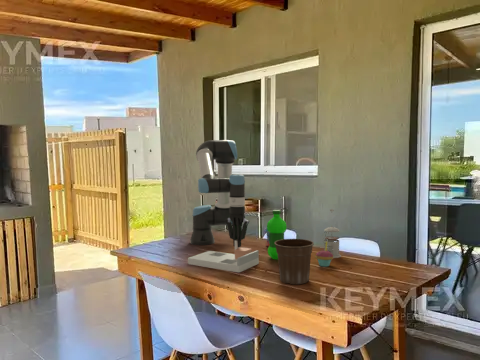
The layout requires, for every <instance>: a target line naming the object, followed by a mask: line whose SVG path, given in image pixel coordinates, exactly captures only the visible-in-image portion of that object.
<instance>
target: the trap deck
mask: <svg viewBox="0 0 480 360" xmlns="http://www.w3.org/2000/svg"><path fill="white" fill-rule="evenodd" d="M259 254H260V251H259V250H254V251H252V252H251V253H249V254H246V255H244V256H241V257H239V258H237V259H235V253H230V252H229V253H227V252H221V251H214V250H207V251H204V252H201V253H198V254H196V255H193V256H190V257H187V265H190V266H191V265H192V266H197V267H198V266H199V267H204V268H210V269H216V270H222V271H228V272H234V273H242V272H244V271H247V270H249V269H250V268H252V267H255V266H256V265H259V263H260V262H259V261H260V260H259V259H260V256H259Z"/></svg>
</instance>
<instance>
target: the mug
mask: <svg viewBox="0 0 480 360" xmlns="http://www.w3.org/2000/svg"><path fill="white" fill-rule="evenodd" d="M264 231H265V232H266V233H265V234H266V243H265V245H266V247H269V232H268V230H267V227H265V228H264Z"/></svg>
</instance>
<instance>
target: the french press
mask: <svg viewBox="0 0 480 360" xmlns="http://www.w3.org/2000/svg"><path fill="white" fill-rule="evenodd" d="M329 211H330V212H334V211H335V210H334V209H333V208H331V209H329ZM323 231H324V232H323V234H322V236H324V239H323V240H322V242H323V244H324V246H323V247H324V249H323V251H325V247H326V241H327V251H329V252H331V253H332V254H333V259H338V258H341V257H342V255H341V254H340V239H339V237H338V236H333V235H329V233H339V232H340V229H339V228H337V227H335V226H334V227H333V226H330V227H326V228H325V229H323ZM324 234H325V235H324ZM326 235H328V236H326Z"/></svg>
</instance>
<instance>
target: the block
mask: <svg viewBox="0 0 480 360" xmlns="http://www.w3.org/2000/svg"><path fill="white" fill-rule="evenodd" d="M251 252H253V249H252V248H250V247H242V246H241V247H240V248H238V249H235V248H234V254H235V259H237V258H239V257H241V256H244V255H246V254H249V253H251Z"/></svg>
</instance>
